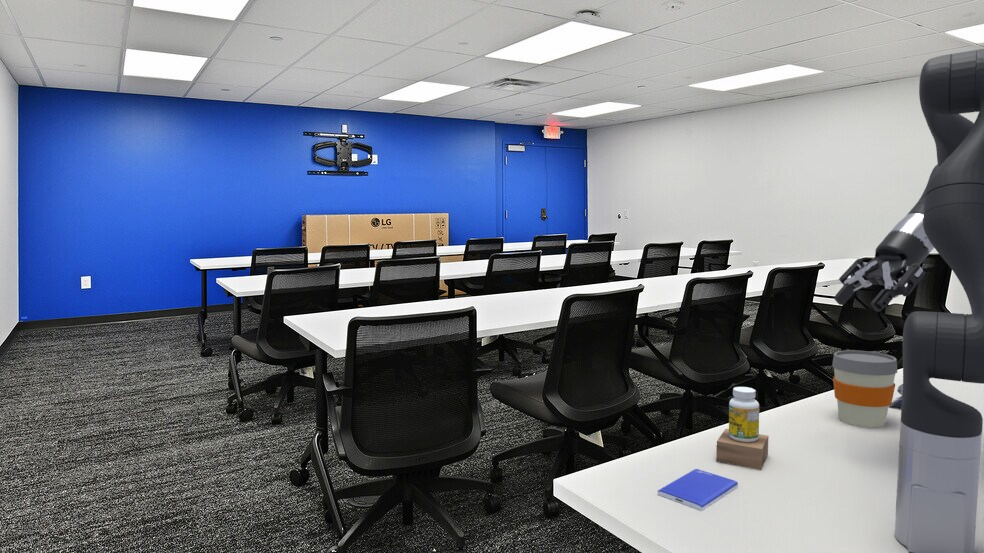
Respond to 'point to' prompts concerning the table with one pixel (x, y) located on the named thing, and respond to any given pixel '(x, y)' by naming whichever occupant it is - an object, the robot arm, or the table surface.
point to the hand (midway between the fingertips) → (855, 305)
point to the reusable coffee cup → (864, 386)
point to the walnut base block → (742, 451)
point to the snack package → (898, 400)
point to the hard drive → (698, 489)
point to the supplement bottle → (744, 415)
